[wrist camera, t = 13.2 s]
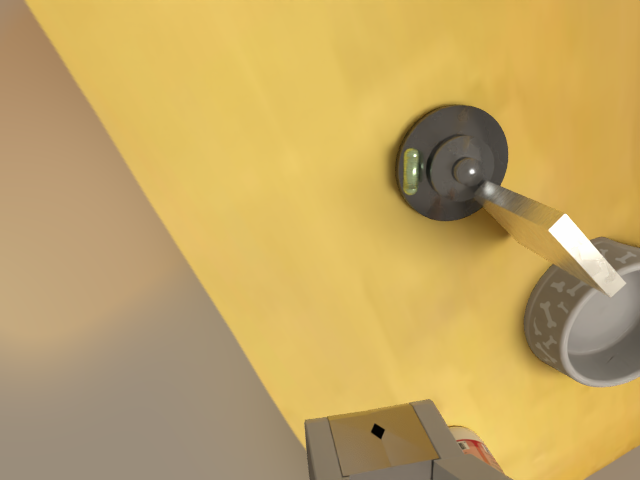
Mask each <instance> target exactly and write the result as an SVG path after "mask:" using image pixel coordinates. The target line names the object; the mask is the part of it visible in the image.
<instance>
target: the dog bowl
mask: <svg viewBox="0 0 640 480" xmlns="http://www.w3.org/2000/svg"><path fill="white" fill-rule="evenodd" d="M589 241H590V242H591V243H592V245H593V246H594V247H595V248H596V249H597V250H598V251H599V253H600V254H601V255H602V256H603V257H604V258H605V259H606V261H607V262H608V263H609V264H610V265H611V266H612V267H613V269H614V270H615V271H616V272H617V273H618V274H619V275H620V277H621V278H622V279H623V280H624V281H625V282H626V284H625V285H624V286H623V287H622V288H621V289H620V290H619V291H618V292H617V293H615V294H614V295H613V296H612V297H611V298H610V297H608V296H606V295H605V294H603V293H601V292H600V291H598V290H596V289H595V288H593V287H591V286H590V285H588V284H586V283H584V282H583V281H581V280H579V279H578V278H576V277H574V276H573V275H571V274H569V273H568V272H566V271H564V270H563V269H561V268H559V267H558V266H556V265H554V264H553V265H552V266H551V267H550V268H549V269H548V270H547V271H546V272H545V273H544V275H543V276H542V277H541V278H540V280H539V281H538V283H537V284H536V286H535V288H534V289H533V291H532V293H531V295H530V298H529V300H528V303H527V306H526V310H525V315H524V331H525V336H526V340H527V342H528V345H529V347H530V348H531V350H532V351H533V353H534V354H535V355H536V356H537V357H538V358H539V359H540V360H542V361H543V362H545V363H546V364H548V365H550V366H552V367H553V368H555V369H556V370H558V371H560V372H562V373H563V374H565V375H567V376H569V377H570V378H572V379H574V380H575V381H577V382H579V383H581V384H584V385H587V386H592V387H611V386H616V385H620V384H624V383H627V382H629V381H632V380H634V379H636V378H638V377H640V248H638V247H632V246H629V245H625V244H621V243H618V242H615V241H613V240H610V239H608V238H605V237H598V238H595V239H592V240H589Z"/></svg>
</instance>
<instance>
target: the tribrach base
mask: <svg viewBox="0 0 640 480" xmlns="http://www.w3.org/2000/svg"><path fill="white" fill-rule="evenodd" d="M456 134H464V135H469V136H473V137H477V138H479V139H481V140H483V141H484V142H485V143H486V144H487V145H488V146H489V147H490V149H491V151H492V153H493V157H494V171H493V175H492V177H491V180H490V181H489V182H491V183H494V184H496V185H498V186H500V185H501V183H502V181H503V178H504V176H505V172H506V169H507V163H508V146H507V141H506V137H505V135H504V132H503V130H502V128H501V126H500V125H499V124H498V122H497V121H496V120H495V119H494V118H493V117H492V116H491V115H489V114H488V113H487V112H485V111H483V110H481V109H479V108H475V107H472V106H465V105H449V106H444V107H441V108H438V109H435V110H433V111H431V112H429V113H428V114H426V115H424V116H423V117H422V118H421V119H419V120H418V121H417V122H416V123H415V124H414V125H413V126H412V127H411V129H410V130H409V131H408V133H407V134H406V136H405V137H404V139H403V141H402V143H401V145H400V148H399V151H398V154H397V159H396V179H397V184H398V187H399V190H400V192H401V194H402V196H403V198H404V199H405V201H406V202H407V203H408V204H409V205H410V206H411V207H412V208H413V209H415V210H416V211H417V212H419V213H420V214H422V215H423V216H425V217H428V218H430V219H434V220H438V221H452V220H458V219H461V218H464V217H467V216H469V215H471V214H473V213H475V212H476V211H478V210H479V209H481V208H482V207H483V206H482V205H481V204H480V203H479V202H478V201H477V200H476V199H475V198H472V199H469V200H466V201H459V202H457V201H451V200H448V199H446V198H444V197H443V196H441V195H439V194H438V193H436V192H435V191H434V190H433V189H432V188H431V187H430V185H429V183H428V181H427V177H426V164H427V160H428V157H429V155H430V153H431V151H432V150H433V148H434V147H435V146H436V145H437V144H438V143H439V142H440V141H442V140H443V139H445V138H447V137H449V136H452V135H456Z"/></svg>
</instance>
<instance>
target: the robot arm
mask: <svg viewBox="0 0 640 480" xmlns="http://www.w3.org/2000/svg"><path fill="white" fill-rule="evenodd" d="M304 424H305V437H306V449H307V460H308V470H309V479H310V480H513V479H511V478H509V477H508V476H506V475H505V474H503V473H501V472H500V471H498V470H497V469H495V468H493V467H492V466H490V465H489V464H487V463H485V462H484V461H482V460H481V459H479V458H477V457H476V456H474V455H473V454H464V453H463V451H462V449H461V448H460V446H459V444H458V443H457V441H456V439H455V438H454V436H453V434H452V433H451V431H450V429H449V428H448V426H447V424H446V423H445V421H444V419H443V418H442V416H441V414H440V413H439V411H438V409H437V408H436V406H435V404H434V403H433V401H431V400H430V399H428V400H422V401H416V402H411V403H409V404H408V403H406V404H400V405H395V406H389V407H384V408H378V409H372V410H368V411H361V412H354V413H347V414H340V415H333V416H327V418H326V417H323V418H316V419H308V420H305V423H304Z"/></svg>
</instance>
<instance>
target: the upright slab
mask: <svg viewBox="0 0 640 480" xmlns="http://www.w3.org/2000/svg"><path fill="white" fill-rule="evenodd" d="M493 171H494V157H493V153H492V151H491V149H490V147H489V146H488V145H487V144H486V143H485V142H484V141H483V140H481V139H479V138H477V137H473V136H469V135H464V134H456V135H452V136H449V137H447V138H445V139H443V140H442V141H440V142H439V143H438V144H437V145H436V146H435V147H434V148H433V150H432V151H431V153H430V155H429V157H428V160H427V164H426V177H427V181H428V183H429V185H430V187H431V188H432V189H433V190H434V191H435V192H436V193H438V194H439V195H441V196H443V197H444V198H446V199H448V200H451V201H457V202H459V201H466V200H469V199H472V198H475V199H476V200H477V201H478V202H479V203H480V204H481V205H482V206H483V207H484V208H485V209H486V210H487V211H488V212H489V213H490V215H491V216H492V217H493V218H494V219H495V220H496V221H497V222H498V223H499V224H500V225H501V226H502V227H503V228H504V229H505V230H506V231H507V232H508V233H509V234H510V235H511V236H512V237H513V238H514V239H515V240H516V241H517V242H518V243H519V244H521V245H522V246H524V247H526V248H527V249H529V250H531V251H532V252H534V253H536V254H537V255H539V256H541V257H543V258H544V259H546V260H548V261H549V262H551V263H553V264H554V265H556V266H558V267H559V268H561V269H563V270H564V271H566V272H568V273H569V274H571V275H573V276H574V277H576V278H578V279H579V280H581V281H583V282H584V283H586V284H588V285H590V286H591V287H593V288H595V289H596V290H598V291H600V292H601V293H603V294H605V295H606V296H608V297H610V298H611V297H612V296H613V295H614V294H615V293H617V292H618V291H619V290H620V289H621V288H622V287H623V286H624V285H625V284H626V282H625V281H624V280H623V279H622V278H621V277H620V275H619V274H618V273H617V272H616V271H615V270H614V269H613V267H612V266H611V265H610V264H609V263H608V262H607V261H606V259H605V258H604V257H603V256H602V255H601V254H600V253H599V251H598V250H597V249H596V248H595V247H594V246H593V245H592V243H591V242H590V241H589V240H588V239H587V238H586V236H585V235H584V234H583V233H582V232H581V231H580V230H579V228H578V227H577V226H576V225H575V224H574V223H573V222H572V220H571V219H570V218H569V217H568V216H567V215H566V214H565V213H563V212H561V211H558V210H556V209H554V208H551V207H549V206H546V205H544V204H542V203H539V202H537V201H534V200H532V199H530V198H527V197H525V196H522V195H520V194H518V193H515V192H513V191H510V190H508V189H506V188H503V187H501V186H498V185H496V184H494V183H491V182H489V181H490V180H491V177H492V175H493Z"/></svg>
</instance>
